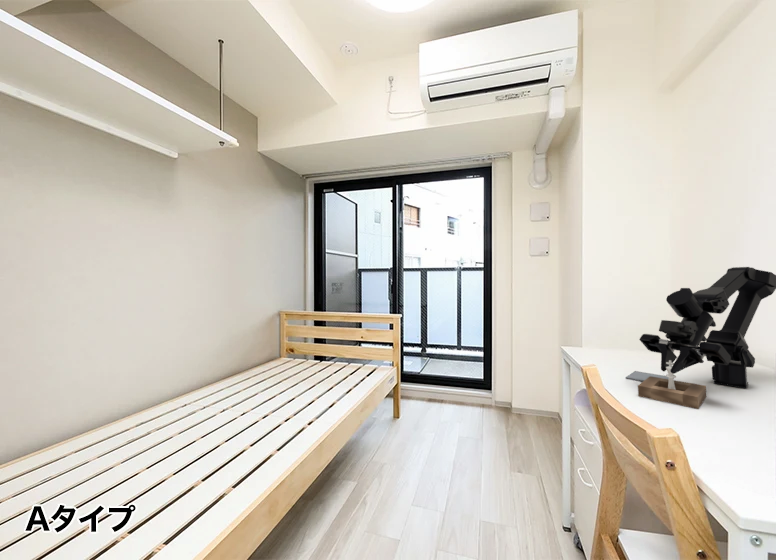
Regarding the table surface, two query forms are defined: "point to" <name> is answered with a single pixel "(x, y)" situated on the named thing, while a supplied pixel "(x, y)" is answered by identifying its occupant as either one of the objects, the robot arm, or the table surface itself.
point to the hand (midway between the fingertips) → (667, 371)
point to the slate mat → (643, 376)
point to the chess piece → (670, 375)
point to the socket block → (673, 392)
